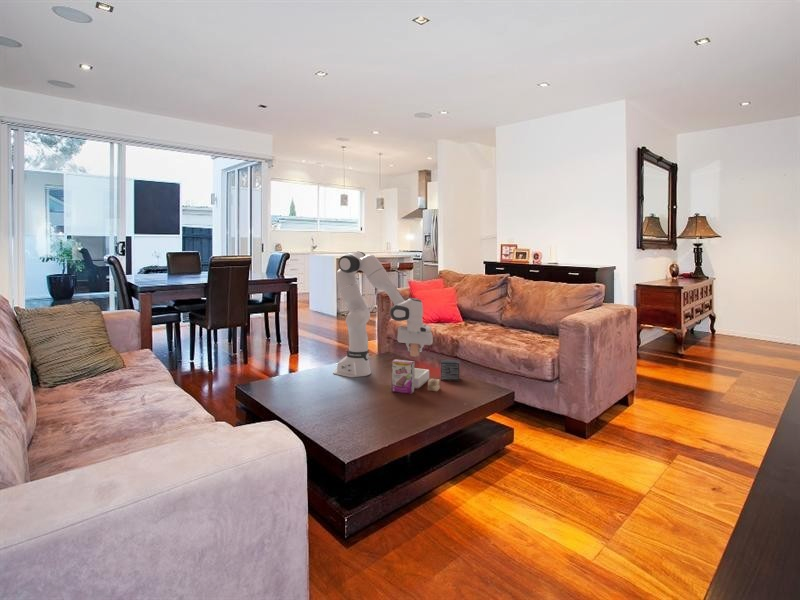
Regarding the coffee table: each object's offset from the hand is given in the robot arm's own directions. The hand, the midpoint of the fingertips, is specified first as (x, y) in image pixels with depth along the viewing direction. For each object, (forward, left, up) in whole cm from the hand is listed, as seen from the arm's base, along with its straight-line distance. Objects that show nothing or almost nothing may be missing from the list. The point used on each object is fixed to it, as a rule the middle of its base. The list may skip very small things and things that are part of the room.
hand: (414, 351), depth 254 cm
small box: (+18, +9, -17) cm, 26 cm away
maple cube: (+15, -12, -17) cm, 25 cm away
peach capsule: (0, 0, -2) cm, 2 cm away
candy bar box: (+1, -22, -17) cm, 27 cm away
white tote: (0, -5, -16) cm, 17 cm away
